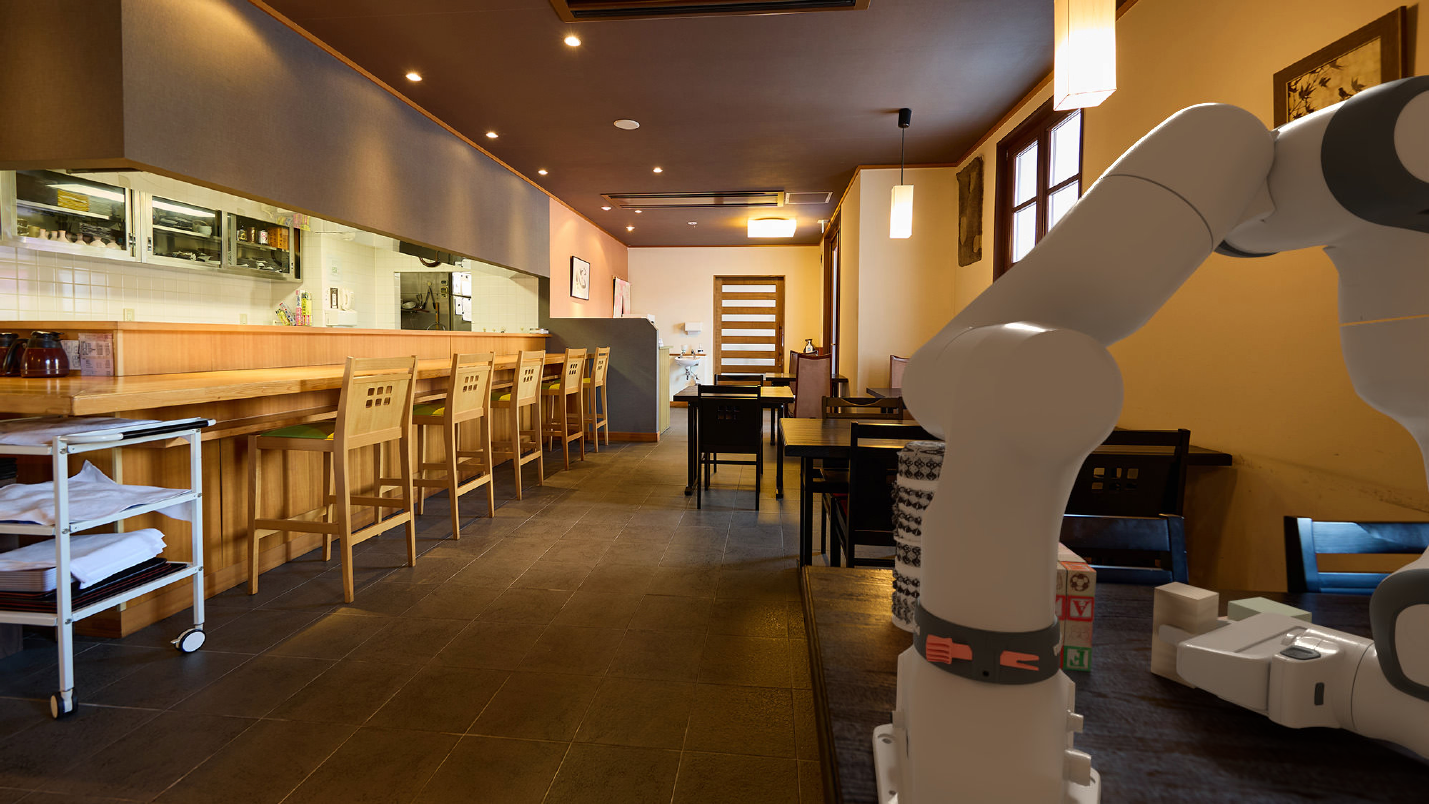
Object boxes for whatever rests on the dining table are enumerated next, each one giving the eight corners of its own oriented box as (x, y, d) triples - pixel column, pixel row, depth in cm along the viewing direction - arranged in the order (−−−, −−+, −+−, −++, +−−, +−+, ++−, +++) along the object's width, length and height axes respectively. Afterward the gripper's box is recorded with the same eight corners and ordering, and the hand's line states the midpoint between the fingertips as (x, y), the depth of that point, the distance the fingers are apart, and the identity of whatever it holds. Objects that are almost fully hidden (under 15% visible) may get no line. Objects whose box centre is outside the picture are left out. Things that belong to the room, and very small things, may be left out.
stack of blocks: (993, 604, 99) (995, 523, 99) (1038, 607, 98) (1040, 525, 98) (1035, 668, 78) (1038, 566, 78) (1092, 673, 77) (1097, 569, 77)
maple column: (1214, 679, 76) (1218, 593, 75) (1193, 688, 74) (1198, 599, 73) (1171, 663, 80) (1175, 581, 79) (1150, 671, 77) (1154, 587, 77)
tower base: (1324, 654, 83) (1326, 615, 83) (1280, 662, 81) (1282, 622, 81) (1255, 629, 91) (1257, 593, 91) (1213, 636, 88) (1215, 599, 88)
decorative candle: (875, 615, 94) (878, 440, 93) (929, 607, 98) (933, 438, 96) (914, 640, 86) (919, 448, 84) (973, 631, 89) (978, 445, 88)
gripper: (1374, 624, 70) (1222, 585, 82) (1284, 665, 60) (1127, 614, 72) (1370, 682, 70) (1220, 635, 82) (1280, 733, 60) (1125, 671, 72)
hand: (1176, 625), depth 77 cm, fingers closed on maple column, 4 cm apart
